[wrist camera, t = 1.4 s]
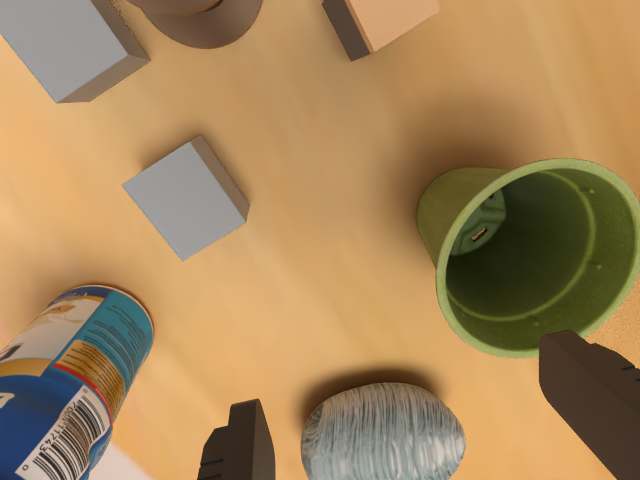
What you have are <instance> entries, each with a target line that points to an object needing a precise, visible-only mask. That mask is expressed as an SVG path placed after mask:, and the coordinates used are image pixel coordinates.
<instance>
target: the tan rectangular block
mask: <svg viewBox="0 0 640 480" xmlns="http://www.w3.org/2000/svg"><path fill="white" fill-rule="evenodd" d="M322 5H323V7H324V9H325V11H326V13H327V15H328V17H329V19H330V21H331V23H332V25H333V27H334V29H335V30H336V32H337V34H338V36H339V38H340V40H341V42H342V44H343V46H344V48H345V50H346V52H347V54H348V56H349V58H350V60H351V61H354V60H356V59H359V58H361V57H364V56H366V55H369V54H371V53H374V52H376V51H377V50H379V49H380V48H382V47H383V46H385V45H387V44H388V43H390V42H391V41H393V40H395V39H396V38H398V37H399V36H401V35H402V34H404V33H406V32H407V31H409V30H410V29H412V28H414V27H415V26H417V25H418V24H420V23H421V22H423V21H425V20H426V19H428V18H429V17H431V16H432V15H434V14H436V13H437V12H439V11H440V10H441V8H440V6H439V3H438V1H437V0H324V2H323V3H322Z"/></svg>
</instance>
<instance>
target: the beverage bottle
mask: <svg viewBox="0 0 640 480" xmlns="http://www.w3.org/2000/svg"><path fill="white" fill-rule="evenodd" d="M153 336H154V333H153V326H152V322H151V319H150V317H149V315H148V313H147V312H146V310H145V309H144V307H143V306H142V305H141V304H140V303H139V302H138V301H137V300H136V299H134V298H133V297H132V296H130V295H129V294H127V293H125V292H123V291H121V290H118V289H116V288H112V287H108V286H102V285H86V286H80V287H76V288H73V289H71V290H68V291H66V292H65V293H63V294H61V295H60V296H58V297H57V298H56V299H55V300H54V301H53V302H52V303H51V304H50V305H49V306H48V307H47V308H46V309H45V310H44V311H43V312H42V313H41V314H40V315H39V316H38V317H37V318H36V319H35V320H34V321H33V322H32V323H31V324H29V325H28V326H27V327H26V328H25V329H24V330H23V331H22V332H21V333H20V334H19V335H18V336H17V337H16V338H14V339H13V340H12V341H11V342H10V343H9V344H8V345H7V346H6V347H5V348H4V349H3V350H1V351H0V480H88V477H89V472H90V471H91V470H92V469H93V468H94V467H95V466H96V464H97V463H98V462H99V460H100V459H101V457H102V455H103V454H104V452H105V450H106V448H107V446H108V444H109V441H110V439H111V435H112V430H113V423H114V421H115V419H116V417H117V415H118V413H119V411H120V408H121V406H122V404H123V402H124V400H125V398H126V396H127V394H128V392H129V389H130V387H131V385H132V383H133V381H134V379H135V377H136V375H137V373H138V371H139V369H140V367H141V366H142V364H143V363H144V361H145V360H146V358H147V356H148V354H149V352H150V350H151V347H152V343H153Z"/></svg>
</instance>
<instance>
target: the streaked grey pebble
mask: <svg viewBox="0 0 640 480" xmlns="http://www.w3.org/2000/svg"><path fill="white" fill-rule="evenodd" d="M465 446H466V438H465V434H464V430H463V428H462V426H461V424H460V422H459V421H458V419H457V418H456V416H455V415H454V414H453V413H452V411H451V410H450V409H449V408H448V407H447V406H446V405H445V404H444V403H443V402H442V401H441V400H440V399H439V398H438V397H436V396H435V395H434V394H432V393H431V392H429V391H427V390H425V389H423V388H421V387H417V386H414V385H411V384H406V383H387V382H384V383H375V384H369V385H365V386H362V387H358V388H354V389H350V390H346V391H344V392H341V393H339V394H336V395H334V396H333V397H331V398H329V399H327V400H325V401H324V402H323V403H321V404H320V405H319V406H318V407H317V408H316V409H315V410H314V411H313V412H312V413H311V415H310V416H309V418H308V420H307V421H306V424H305V426H304V428H303V432H302V436H301V458H302V463H303V466H304V469H305V472H306V475H307V477H308V479H309V480H449V479H450V477H451V476H452V475H453V474H454V472H455V471H456V470H457V468H458V467H459V465H460V462H461V460H462V458H463V455H464V451H465Z"/></svg>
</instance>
